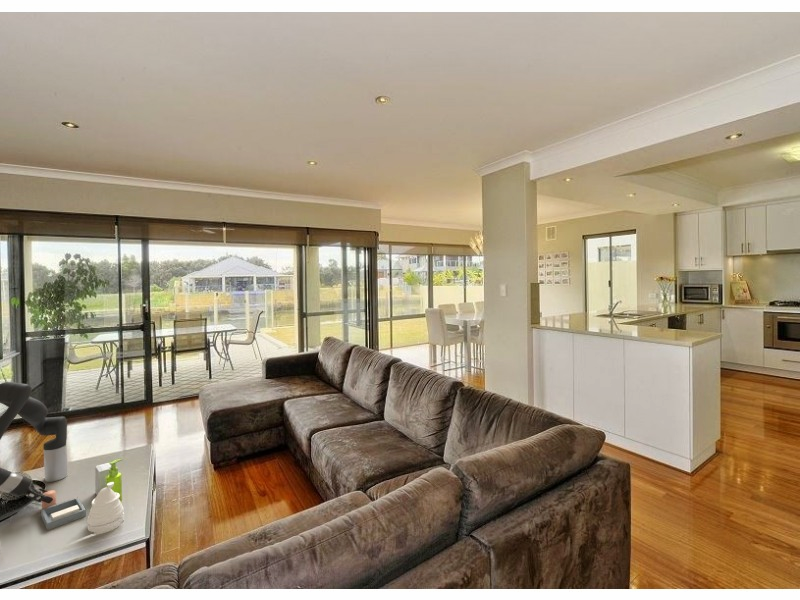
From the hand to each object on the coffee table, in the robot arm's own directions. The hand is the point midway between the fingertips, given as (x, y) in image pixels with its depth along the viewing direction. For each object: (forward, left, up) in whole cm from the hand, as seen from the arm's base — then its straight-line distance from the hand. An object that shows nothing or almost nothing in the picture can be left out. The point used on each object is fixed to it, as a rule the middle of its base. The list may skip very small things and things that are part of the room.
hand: (49, 497), depth 180 cm
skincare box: (+5, +20, -6) cm, 21 cm away
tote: (+13, +3, -6) cm, 14 cm away
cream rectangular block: (+17, +3, -5) cm, 18 cm away
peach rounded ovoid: (0, 0, -6) cm, 6 cm away
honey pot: (+33, +14, -6) cm, 36 cm away
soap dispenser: (+15, +22, -6) cm, 27 cm away
